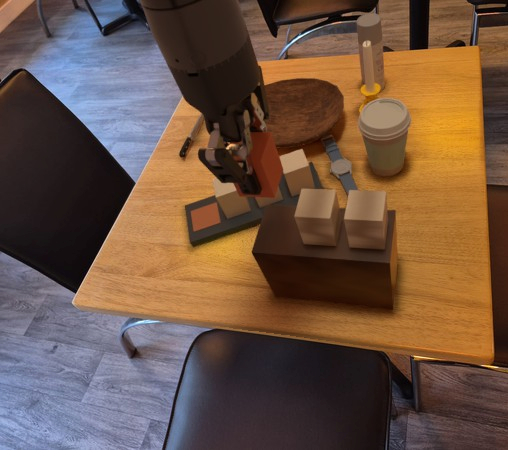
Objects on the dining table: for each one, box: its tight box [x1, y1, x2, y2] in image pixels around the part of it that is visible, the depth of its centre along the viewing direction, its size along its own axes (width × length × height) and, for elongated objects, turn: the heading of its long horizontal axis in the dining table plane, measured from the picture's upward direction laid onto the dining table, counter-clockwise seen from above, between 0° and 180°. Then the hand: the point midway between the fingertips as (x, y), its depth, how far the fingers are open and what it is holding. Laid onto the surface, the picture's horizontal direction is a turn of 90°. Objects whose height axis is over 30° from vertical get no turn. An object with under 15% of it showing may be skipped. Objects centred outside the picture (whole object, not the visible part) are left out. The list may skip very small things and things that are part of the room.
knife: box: [178, 112, 205, 159], centre depth 94 cm, size 15×1×2 cm, turn 166°
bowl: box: [257, 77, 345, 149], centre depth 88 cm, size 20×22×5 cm
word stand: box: [250, 188, 399, 310], centre depth 60 cm, size 18×8×19 cm, turn 78°
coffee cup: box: [357, 97, 412, 177], centre depth 75 cm, size 8×8×12 cm
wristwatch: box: [320, 134, 359, 196], centre depth 80 cm, size 4×20×1 cm, turn 15°
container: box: [356, 12, 386, 93], centre depth 87 cm, size 5×5×15 cm
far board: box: [184, 148, 324, 248], centre depth 77 cm, size 9×25×8 cm, turn 105°
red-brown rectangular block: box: [229, 132, 283, 198], centre depth 49 cm, size 4×4×6 cm
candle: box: [358, 40, 381, 114], centre depth 83 cm, size 5×5×16 cm
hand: (258, 175), depth 51 cm, fingers closed on red-brown rectangular block, 4 cm apart
